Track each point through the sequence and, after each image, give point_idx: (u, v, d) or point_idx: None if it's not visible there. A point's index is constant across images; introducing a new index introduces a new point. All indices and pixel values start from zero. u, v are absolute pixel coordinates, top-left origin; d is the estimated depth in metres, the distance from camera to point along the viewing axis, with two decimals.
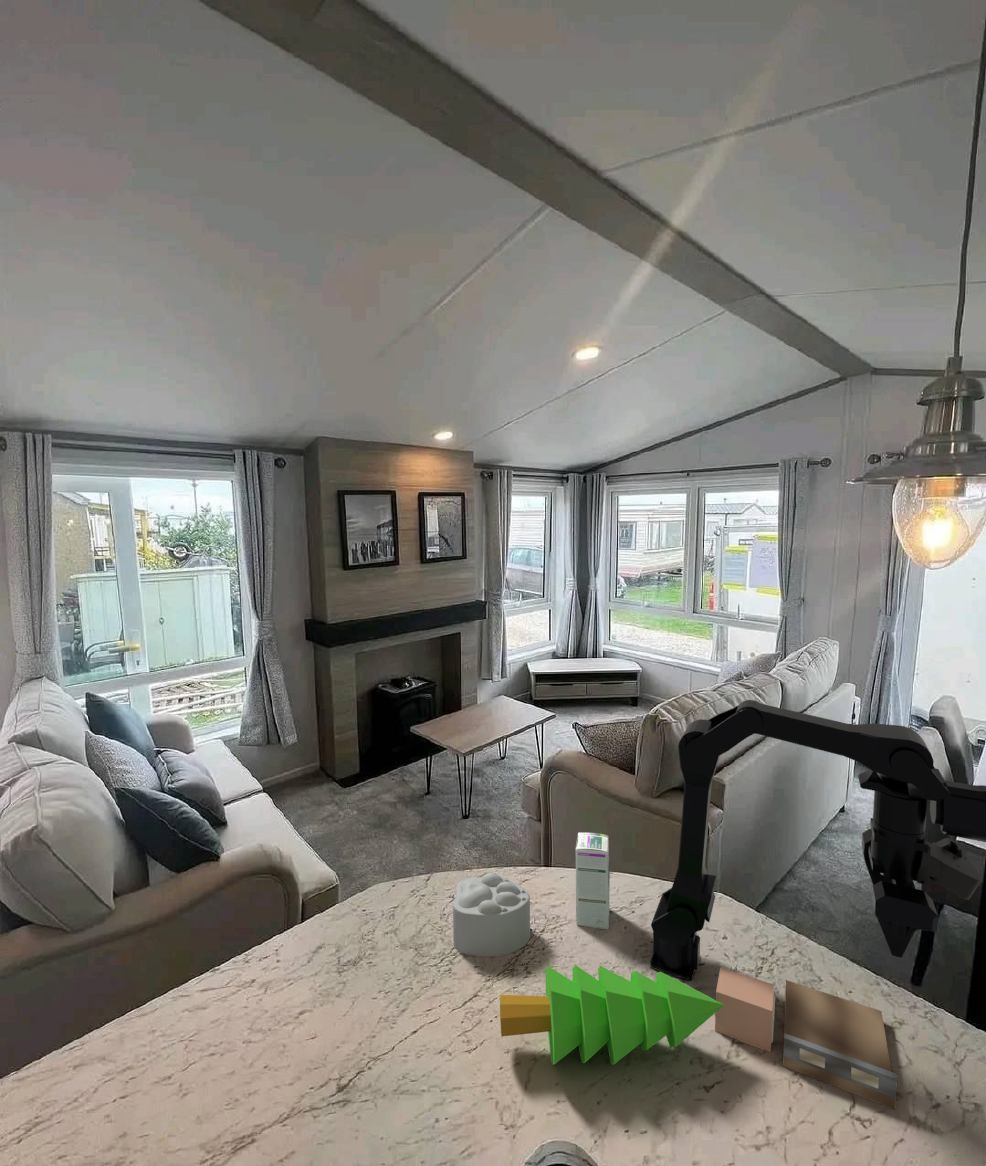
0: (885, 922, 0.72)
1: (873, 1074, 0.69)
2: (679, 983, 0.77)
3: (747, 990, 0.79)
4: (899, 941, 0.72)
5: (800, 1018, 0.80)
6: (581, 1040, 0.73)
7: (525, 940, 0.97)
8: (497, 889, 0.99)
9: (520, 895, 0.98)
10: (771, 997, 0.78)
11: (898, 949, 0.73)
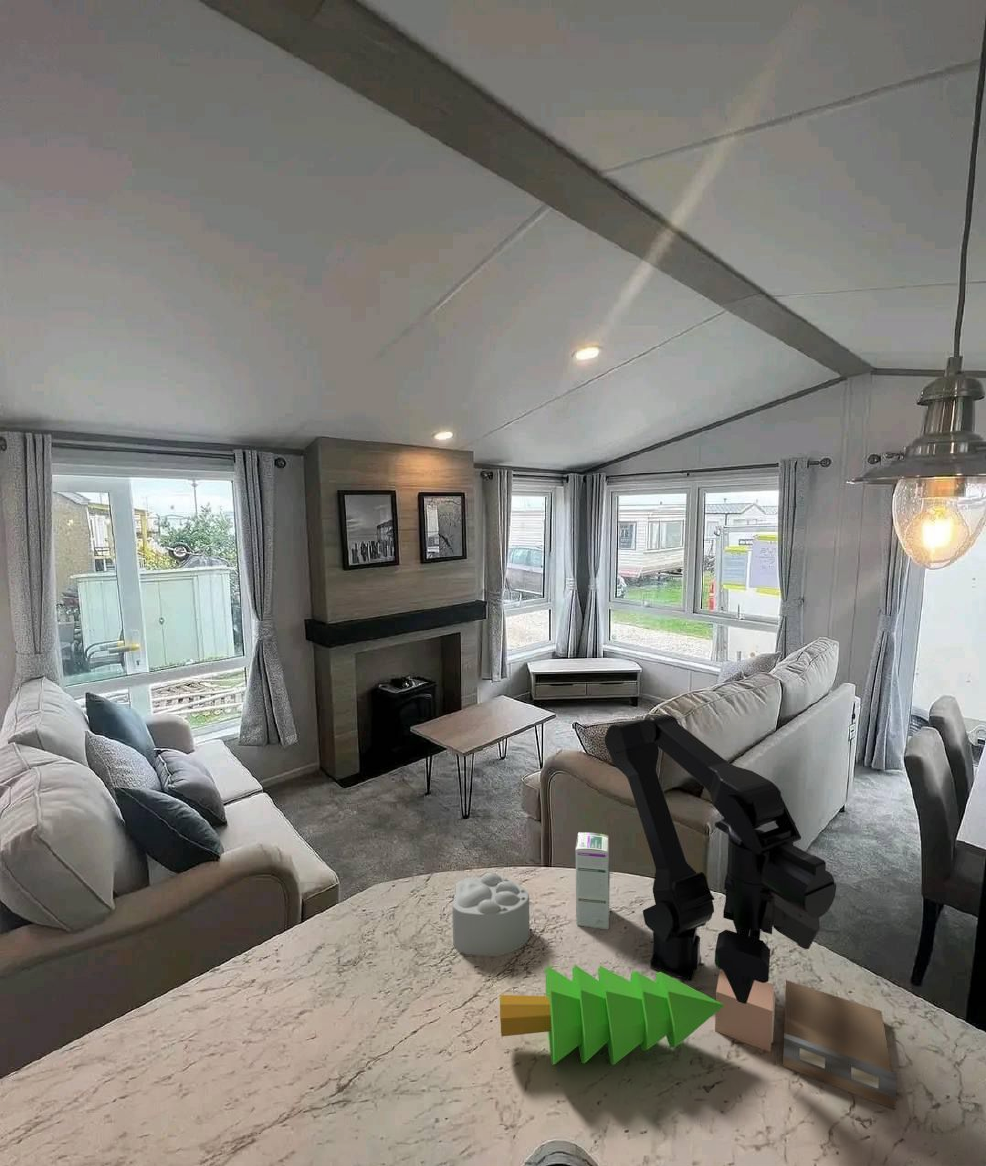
0: None
1: (873, 1074, 0.69)
2: (679, 983, 0.77)
3: None
4: (742, 988, 0.74)
5: (800, 1018, 0.80)
6: (581, 1040, 0.73)
7: (524, 939, 0.97)
8: (496, 889, 0.99)
9: (520, 895, 0.98)
10: (771, 997, 0.78)
11: (742, 996, 0.75)
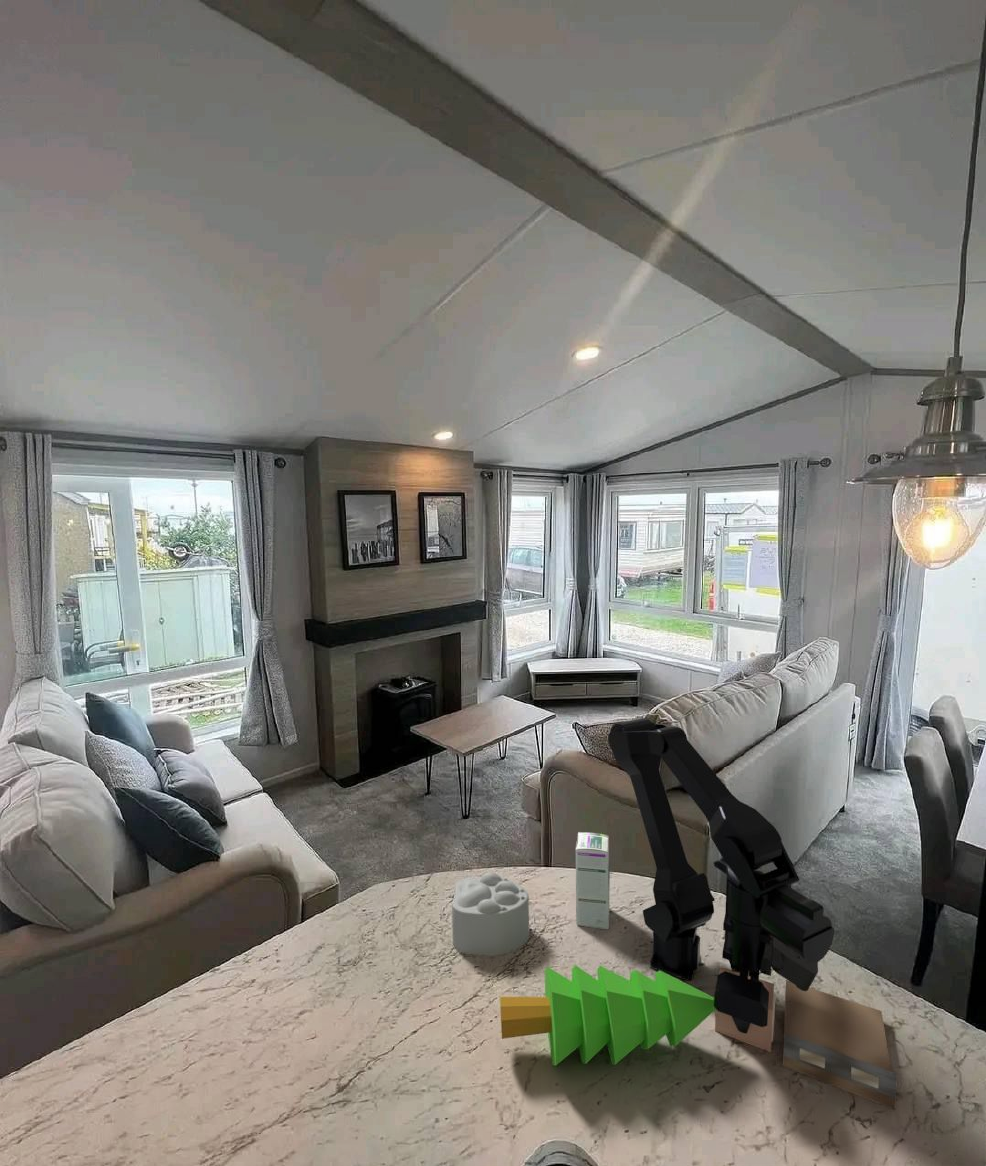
0: None
1: (873, 1074, 0.69)
2: (678, 981, 0.77)
3: None
4: None
5: (800, 1018, 0.80)
6: (582, 1040, 0.73)
7: (524, 939, 0.97)
8: (496, 888, 0.99)
9: (519, 894, 0.98)
10: (771, 996, 0.78)
11: (742, 1026, 0.77)
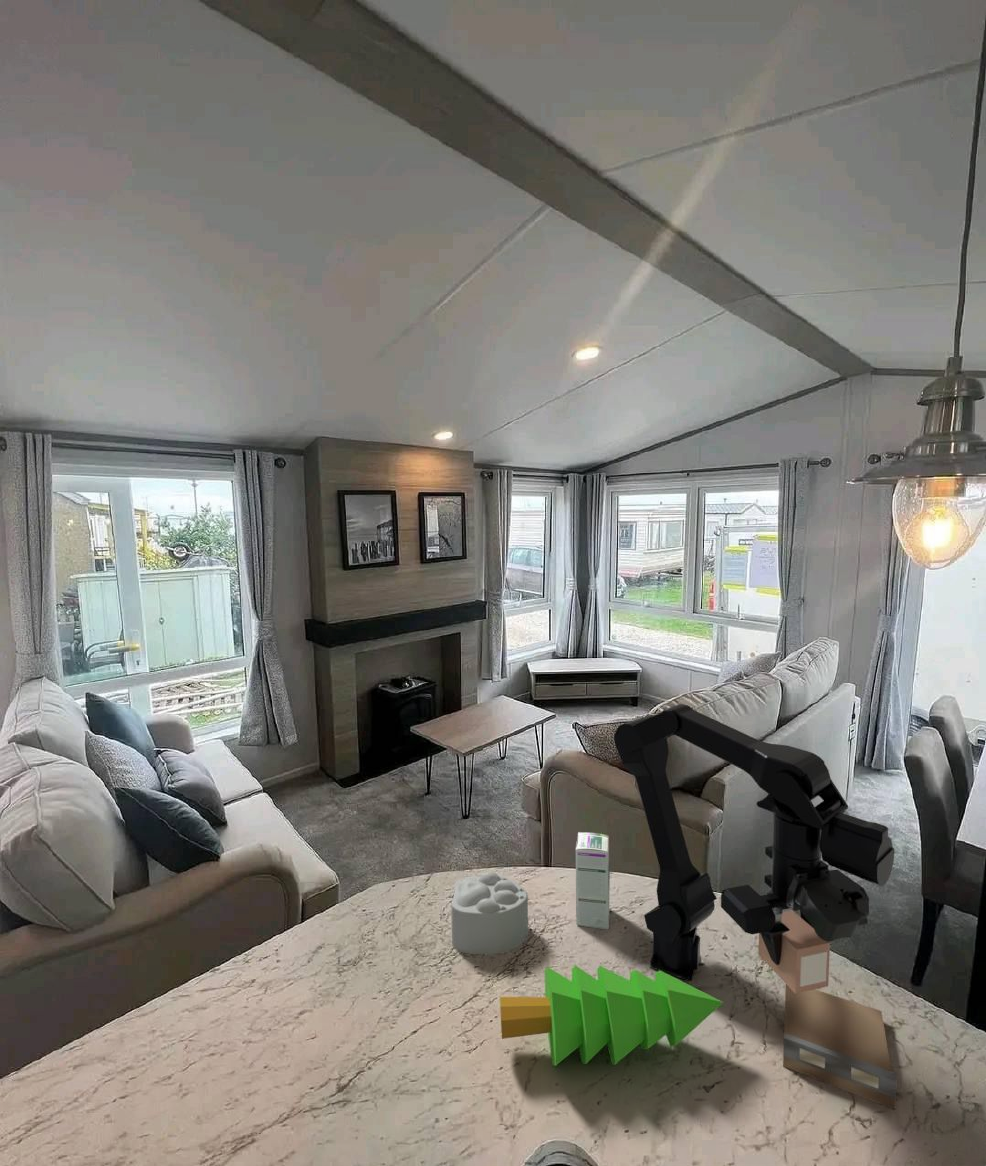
0: None
1: (873, 1074, 0.69)
2: (678, 981, 0.77)
3: (793, 930, 0.76)
4: (769, 945, 0.76)
5: (800, 1018, 0.80)
6: (582, 1041, 0.73)
7: (523, 938, 0.97)
8: (495, 888, 0.99)
9: (518, 894, 0.98)
10: (811, 945, 0.73)
11: (772, 954, 0.76)
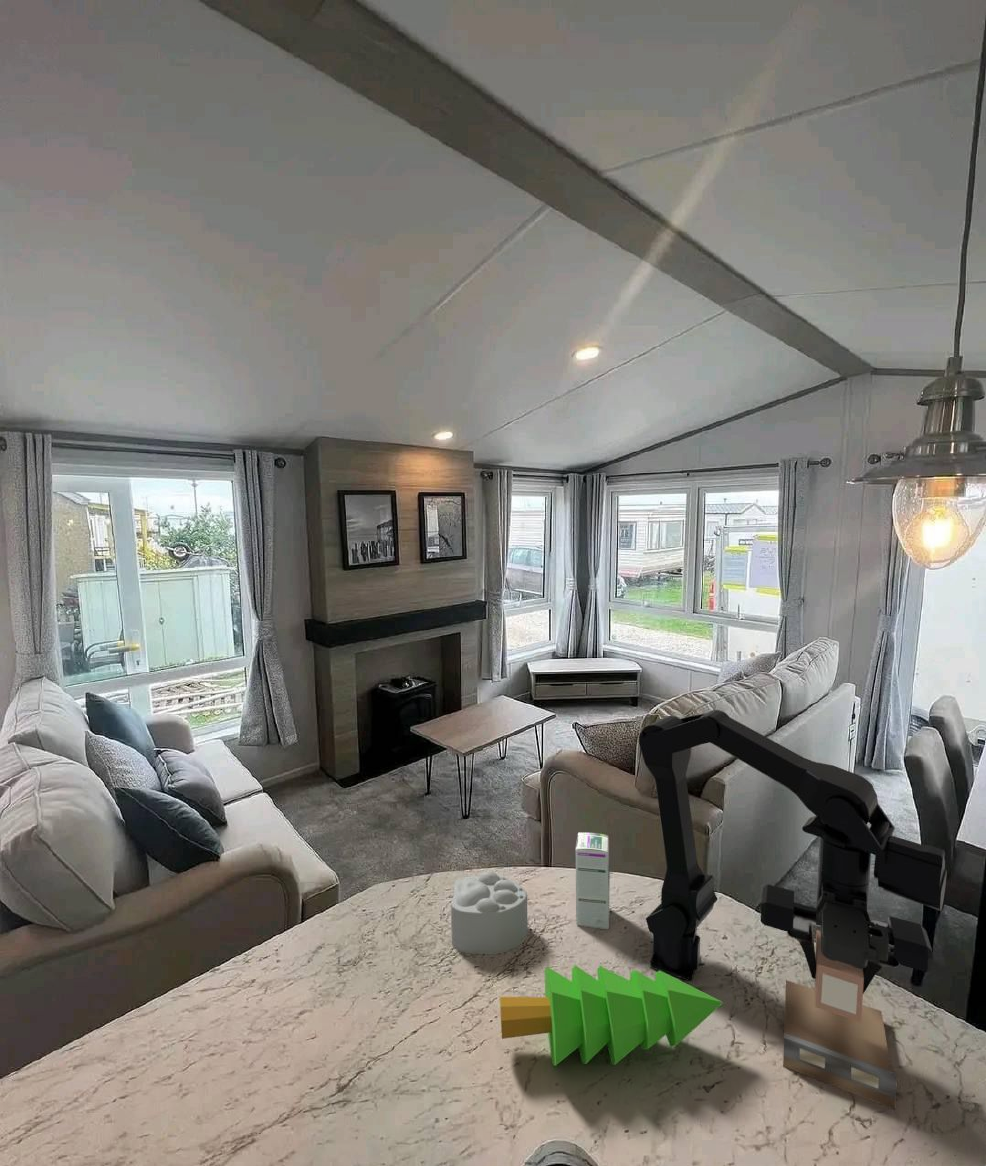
0: None
1: (873, 1074, 0.69)
2: (678, 982, 0.77)
3: None
4: None
5: (800, 1018, 0.80)
6: (582, 1041, 0.73)
7: (523, 937, 0.97)
8: (495, 887, 0.99)
9: (518, 893, 0.99)
10: (839, 969, 0.73)
11: None
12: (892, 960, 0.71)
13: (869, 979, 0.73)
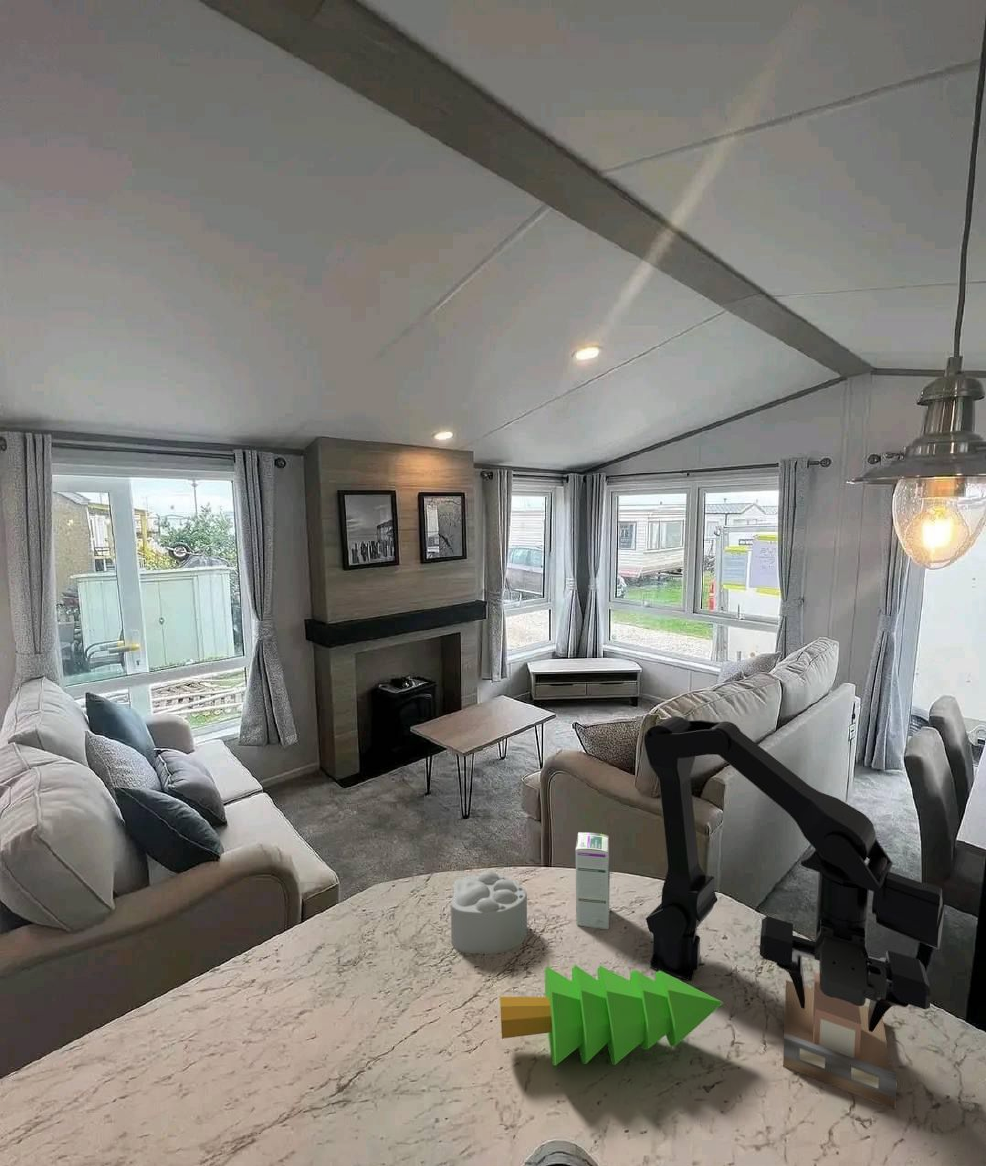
0: None
1: (873, 1074, 0.69)
2: (678, 982, 0.77)
3: None
4: None
5: (800, 1018, 0.80)
6: (582, 1041, 0.73)
7: (522, 937, 0.97)
8: (494, 887, 0.99)
9: (517, 893, 0.99)
10: (837, 1015, 0.73)
11: None
12: None
13: (878, 1017, 0.73)
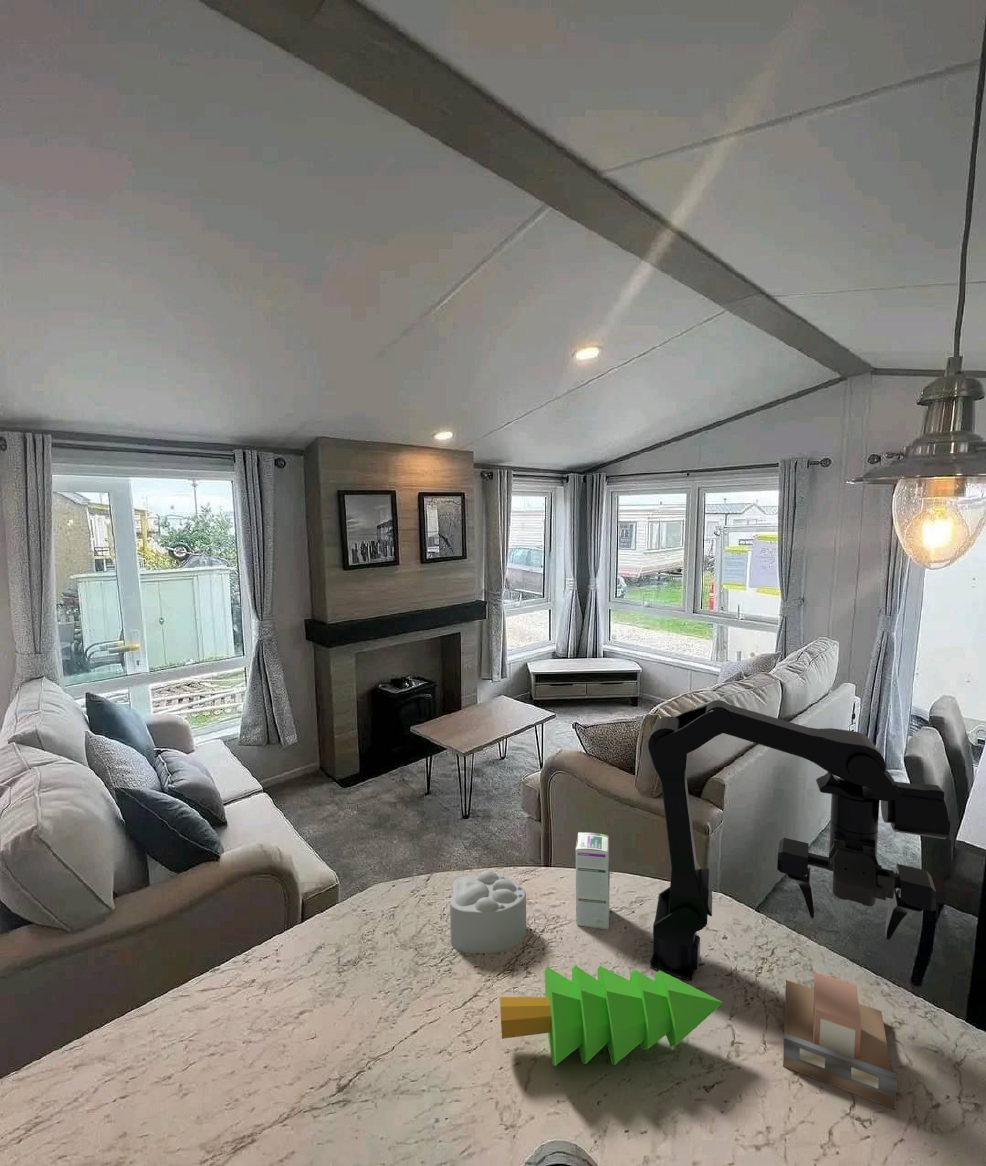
0: None
1: (873, 1074, 0.69)
2: (678, 981, 0.77)
3: (834, 997, 0.76)
4: None
5: (800, 1018, 0.80)
6: (582, 1041, 0.73)
7: (522, 936, 0.97)
8: (493, 886, 1.00)
9: (517, 892, 0.99)
10: (837, 1015, 0.73)
11: None
12: None
13: (895, 925, 0.79)
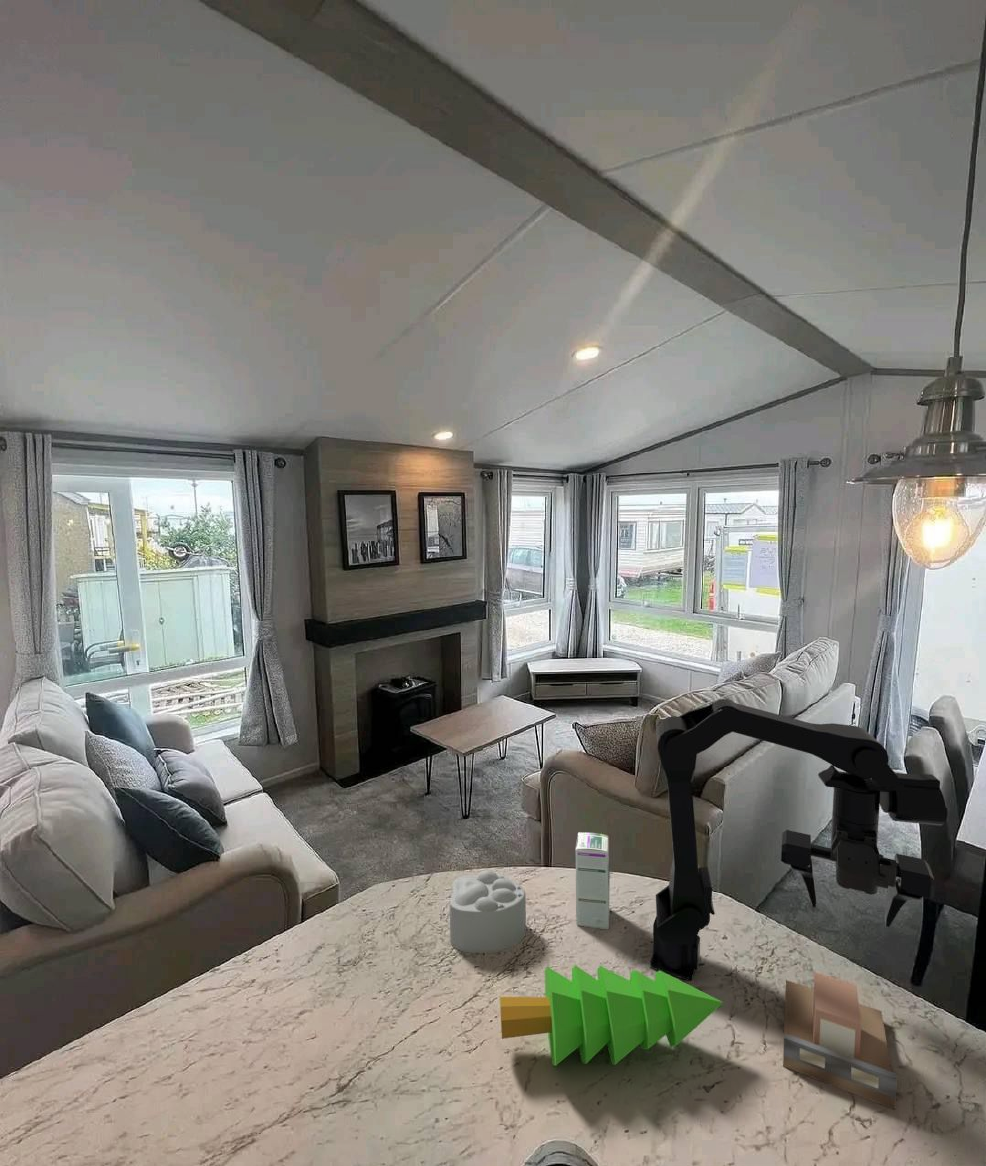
0: None
1: (873, 1074, 0.69)
2: (678, 982, 0.77)
3: (834, 997, 0.76)
4: None
5: (800, 1018, 0.80)
6: (582, 1041, 0.73)
7: (521, 936, 0.98)
8: (493, 886, 1.00)
9: (516, 892, 0.99)
10: (837, 1015, 0.73)
11: None
12: None
13: (895, 913, 0.81)
